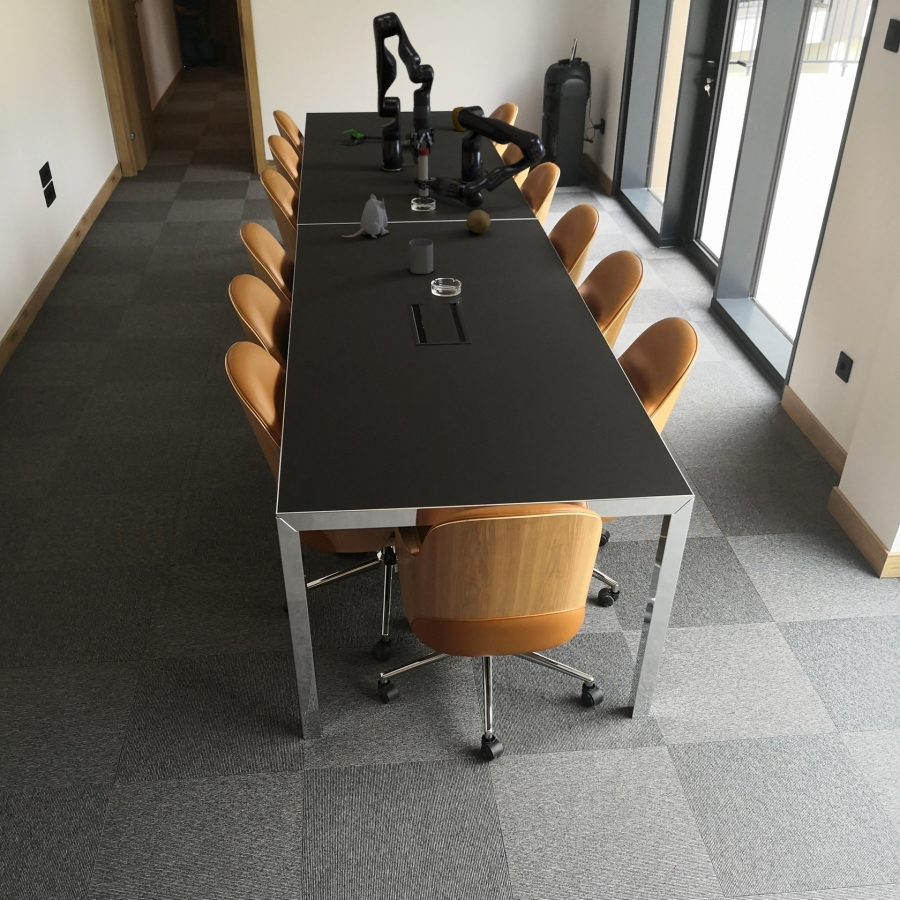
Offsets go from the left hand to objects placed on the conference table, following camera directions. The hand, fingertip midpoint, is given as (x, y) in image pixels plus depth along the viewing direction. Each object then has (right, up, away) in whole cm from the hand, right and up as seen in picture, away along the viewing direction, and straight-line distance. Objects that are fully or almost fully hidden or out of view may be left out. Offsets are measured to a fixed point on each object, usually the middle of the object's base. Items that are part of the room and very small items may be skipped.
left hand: (422, 155), depth 376 cm
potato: (+23, -42, -33) cm, 58 cm away
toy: (-21, -46, -39) cm, 64 cm away
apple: (+18, +53, +115) cm, 128 cm away
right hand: (-2, -8, +8) cm, 11 cm away
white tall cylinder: (0, -14, +9) cm, 17 cm away
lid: (0, +2, -1) cm, 2 cm away
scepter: (-32, +38, +91) cm, 103 cm away
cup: (+2, -64, -68) cm, 93 cm away
